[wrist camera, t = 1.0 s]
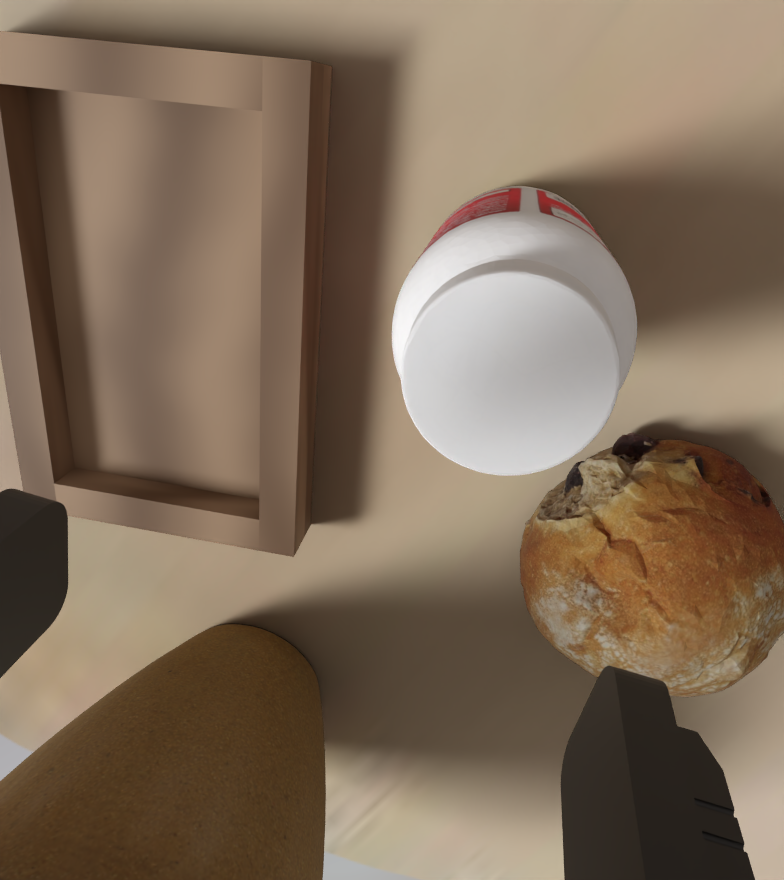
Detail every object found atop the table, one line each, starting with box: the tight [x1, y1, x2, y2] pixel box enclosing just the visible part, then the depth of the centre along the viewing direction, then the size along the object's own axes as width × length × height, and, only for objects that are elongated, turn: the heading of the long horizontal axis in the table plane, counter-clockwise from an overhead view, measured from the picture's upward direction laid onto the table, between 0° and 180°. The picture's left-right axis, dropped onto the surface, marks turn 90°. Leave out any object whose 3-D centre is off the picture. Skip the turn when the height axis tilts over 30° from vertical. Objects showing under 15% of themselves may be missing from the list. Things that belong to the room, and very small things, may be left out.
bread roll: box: [520, 433, 784, 697], centre depth 26 cm, size 10×10×8 cm
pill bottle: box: [392, 186, 637, 476], centre depth 20 cm, size 6×6×11 cm
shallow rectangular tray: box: [0, 31, 332, 557], centre depth 26 cm, size 12×18×2 cm, turn 175°
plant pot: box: [0, 624, 326, 880], centre depth 28 cm, size 15×15×16 cm
